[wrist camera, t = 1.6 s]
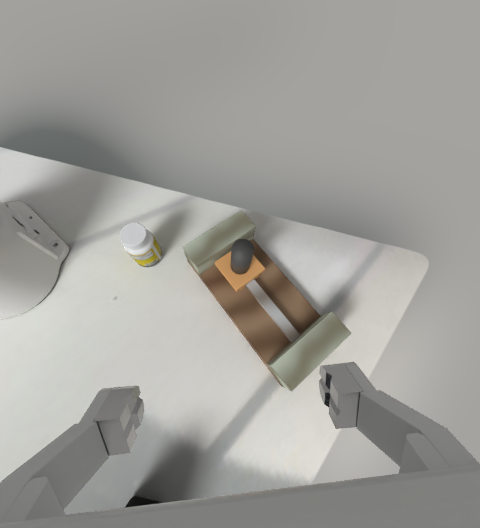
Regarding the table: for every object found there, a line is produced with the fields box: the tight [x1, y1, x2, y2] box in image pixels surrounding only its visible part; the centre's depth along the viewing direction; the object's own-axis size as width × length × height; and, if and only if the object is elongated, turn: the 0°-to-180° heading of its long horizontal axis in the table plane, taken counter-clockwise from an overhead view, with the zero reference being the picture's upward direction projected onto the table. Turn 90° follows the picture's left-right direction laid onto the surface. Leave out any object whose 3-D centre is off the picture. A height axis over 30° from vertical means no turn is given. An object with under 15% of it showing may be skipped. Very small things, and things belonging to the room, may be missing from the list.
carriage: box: [215, 239, 265, 292], centre depth 37 cm, size 6×6×9 cm
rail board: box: [183, 210, 351, 391], centre depth 38 cm, size 26×12×6 cm, turn 38°
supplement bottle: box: [119, 223, 162, 268], centre depth 39 cm, size 5×5×8 cm
